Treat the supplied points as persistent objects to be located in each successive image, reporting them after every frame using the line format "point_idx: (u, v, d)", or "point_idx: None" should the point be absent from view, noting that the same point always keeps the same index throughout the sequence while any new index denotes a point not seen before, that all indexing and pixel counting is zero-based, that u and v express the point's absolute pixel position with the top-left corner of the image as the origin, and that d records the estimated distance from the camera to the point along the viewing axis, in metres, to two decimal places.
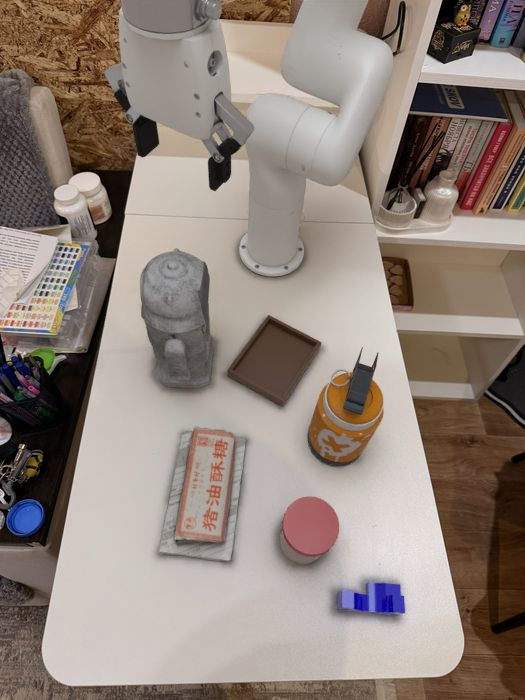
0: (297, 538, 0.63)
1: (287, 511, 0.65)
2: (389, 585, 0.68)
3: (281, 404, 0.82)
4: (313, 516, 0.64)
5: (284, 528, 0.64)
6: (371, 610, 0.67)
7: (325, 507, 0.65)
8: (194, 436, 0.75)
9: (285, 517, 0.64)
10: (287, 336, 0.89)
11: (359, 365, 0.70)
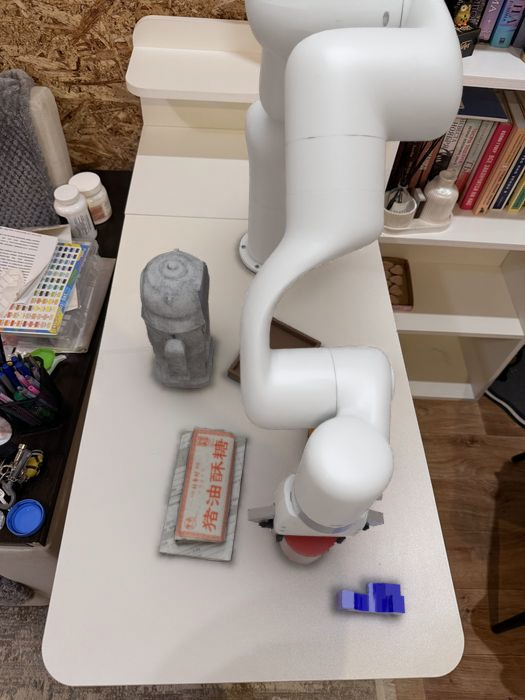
0: (297, 538, 0.63)
1: None
2: (389, 585, 0.68)
3: None
4: None
5: None
6: (371, 610, 0.67)
7: None
8: (194, 436, 0.75)
9: None
10: (287, 336, 0.89)
11: None
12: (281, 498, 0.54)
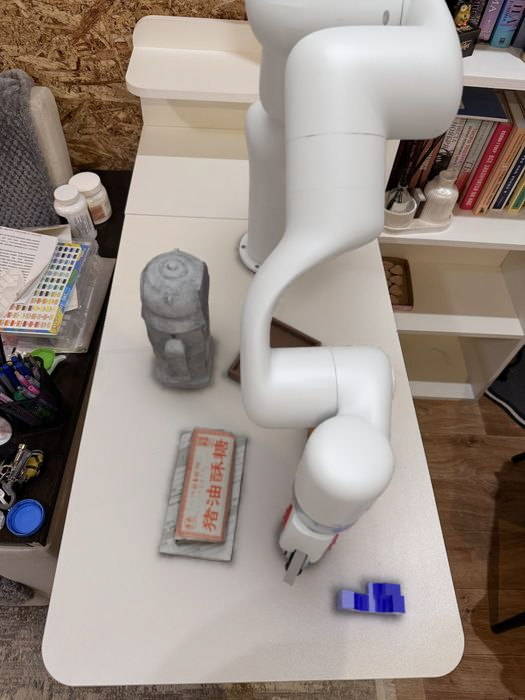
0: None
1: None
2: (389, 585, 0.68)
3: None
4: None
5: None
6: (371, 610, 0.67)
7: None
8: (194, 436, 0.75)
9: None
10: (287, 336, 0.89)
11: None
12: (307, 540, 0.51)
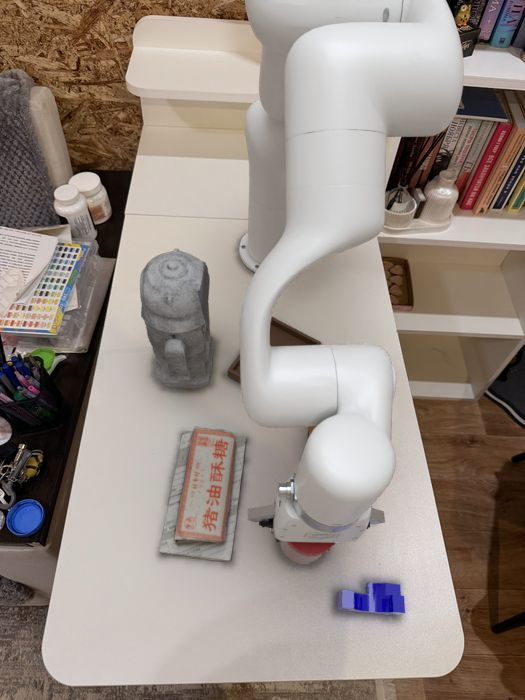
0: None
1: None
2: (389, 585, 0.68)
3: None
4: None
5: None
6: (371, 610, 0.67)
7: None
8: (194, 436, 0.75)
9: None
10: (287, 336, 0.89)
11: None
12: None
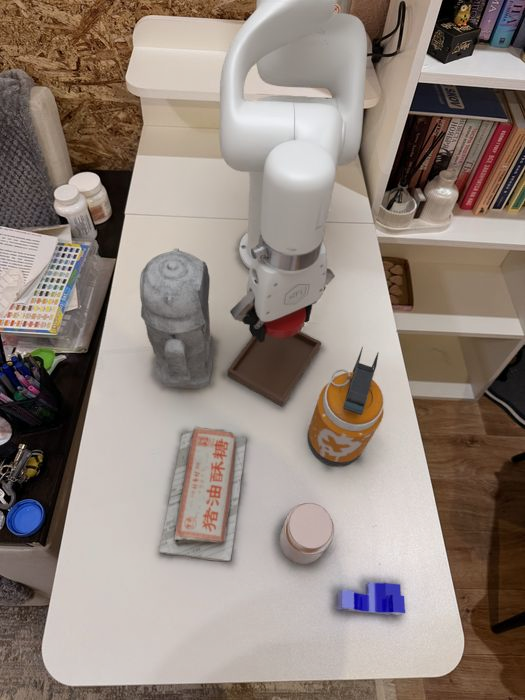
0: None
1: (304, 311, 0.74)
2: (389, 585, 0.68)
3: (281, 404, 0.82)
4: (283, 317, 0.73)
5: None
6: (371, 610, 0.67)
7: (277, 327, 0.73)
8: (194, 436, 0.75)
9: None
10: None
11: (359, 365, 0.70)
12: None
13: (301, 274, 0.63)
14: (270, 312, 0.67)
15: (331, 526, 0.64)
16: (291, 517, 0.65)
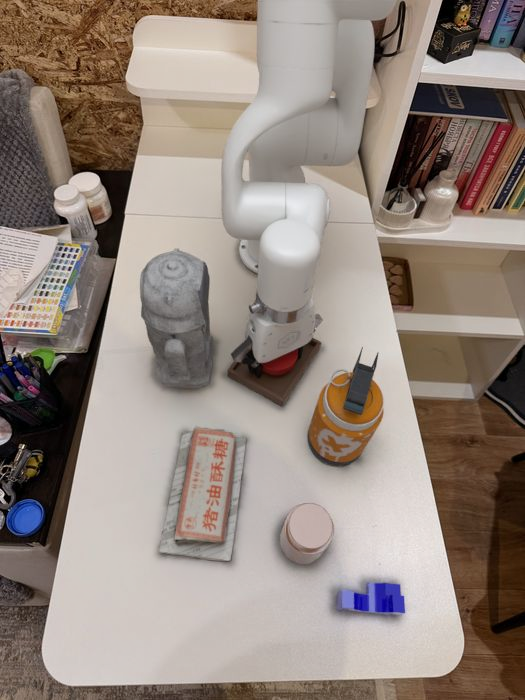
0: None
1: (296, 351, 0.84)
2: (389, 585, 0.68)
3: (281, 404, 0.82)
4: None
5: None
6: (371, 610, 0.67)
7: (272, 365, 0.82)
8: (194, 436, 0.75)
9: None
10: None
11: (359, 365, 0.70)
12: None
13: (292, 324, 0.73)
14: (266, 355, 0.77)
15: (331, 526, 0.64)
16: (291, 517, 0.65)
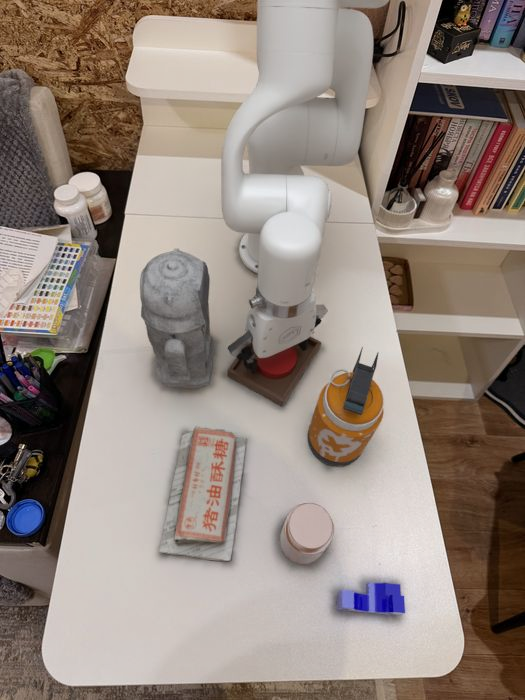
0: None
1: (295, 355, 0.85)
2: (389, 585, 0.68)
3: (281, 404, 0.82)
4: (277, 360, 0.85)
5: None
6: (371, 610, 0.67)
7: (272, 370, 0.84)
8: (194, 436, 0.75)
9: (294, 351, 0.86)
10: None
11: (359, 365, 0.70)
12: None
13: (293, 319, 0.72)
14: (266, 350, 0.76)
15: (331, 526, 0.64)
16: (291, 517, 0.65)
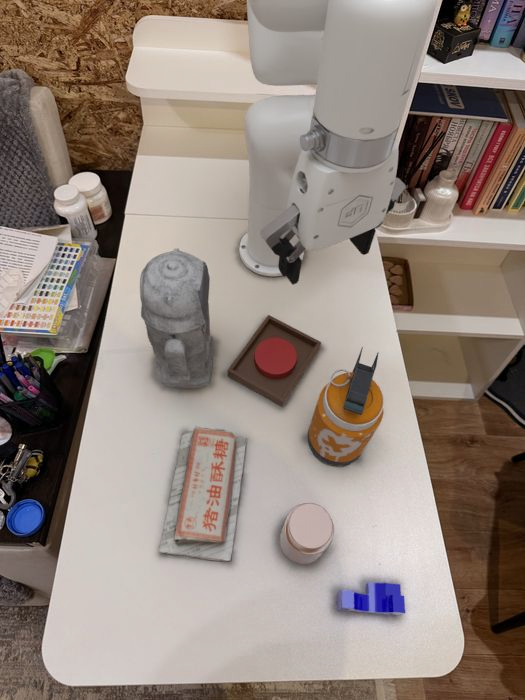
0: (279, 343, 0.86)
1: (295, 355, 0.85)
2: (389, 585, 0.68)
3: (281, 404, 0.82)
4: (277, 360, 0.85)
5: (291, 345, 0.86)
6: (371, 610, 0.67)
7: (272, 370, 0.84)
8: (195, 436, 0.75)
9: (294, 351, 0.86)
10: (287, 336, 0.89)
11: (359, 365, 0.70)
12: None
13: (365, 179, 0.47)
14: (319, 236, 0.50)
15: (331, 526, 0.64)
16: (291, 517, 0.65)
